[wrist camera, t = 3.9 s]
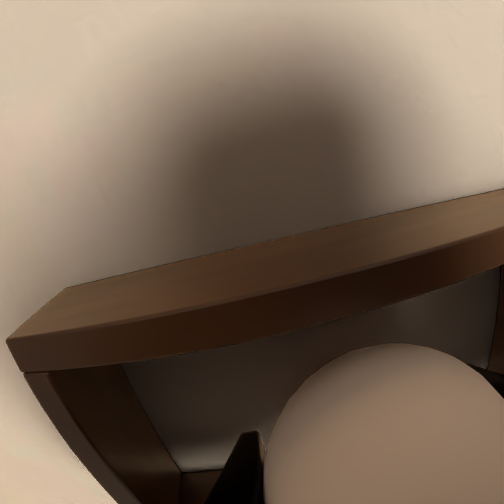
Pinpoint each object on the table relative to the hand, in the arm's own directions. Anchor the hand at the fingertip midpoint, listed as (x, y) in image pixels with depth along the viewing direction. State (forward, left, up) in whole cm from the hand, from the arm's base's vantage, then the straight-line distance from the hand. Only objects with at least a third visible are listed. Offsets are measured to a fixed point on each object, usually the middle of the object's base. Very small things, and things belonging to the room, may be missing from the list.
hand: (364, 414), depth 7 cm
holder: (0, 0, -2) cm, 2 cm away
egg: (0, 0, -2) cm, 2 cm away
